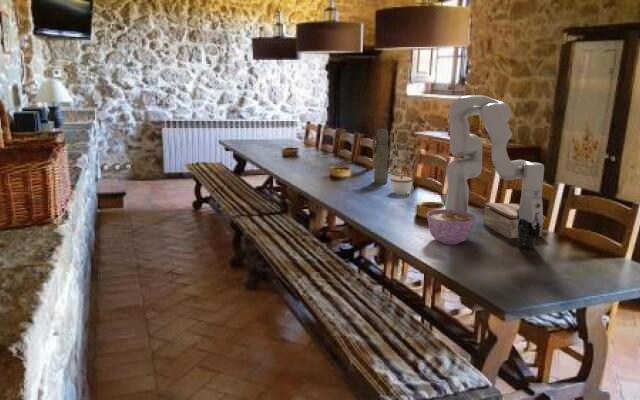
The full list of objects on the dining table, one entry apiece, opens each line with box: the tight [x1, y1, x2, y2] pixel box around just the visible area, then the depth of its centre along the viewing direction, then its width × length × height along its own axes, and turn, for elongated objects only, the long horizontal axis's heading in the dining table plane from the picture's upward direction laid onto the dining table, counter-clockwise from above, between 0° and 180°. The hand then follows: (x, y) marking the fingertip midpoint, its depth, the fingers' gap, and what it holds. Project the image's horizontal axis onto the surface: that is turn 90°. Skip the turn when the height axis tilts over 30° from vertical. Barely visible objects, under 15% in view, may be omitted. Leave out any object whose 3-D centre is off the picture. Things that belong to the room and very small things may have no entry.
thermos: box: [372, 128, 392, 185], centre depth 327 cm, size 9×12×35 cm
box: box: [483, 207, 544, 239], centre depth 229 cm, size 16×22×8 cm
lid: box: [484, 202, 545, 219], centre depth 227 cm, size 16×22×1 cm
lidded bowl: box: [390, 174, 413, 196], centre depth 300 cm, size 13×13×11 cm
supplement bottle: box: [516, 219, 537, 250], centre depth 205 cm, size 7×7×12 cm
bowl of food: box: [426, 208, 477, 245], centre depth 212 cm, size 20×20×12 cm
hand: (528, 234), depth 205 cm, fingers open, 9 cm apart
